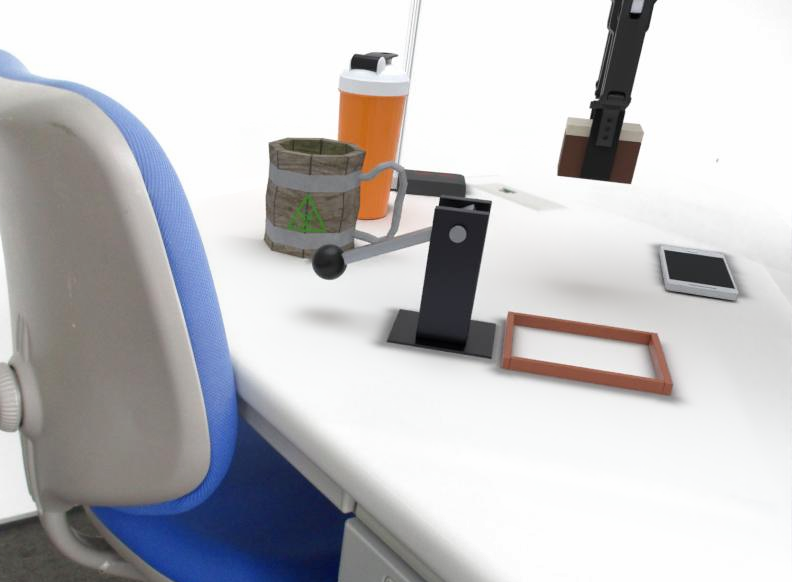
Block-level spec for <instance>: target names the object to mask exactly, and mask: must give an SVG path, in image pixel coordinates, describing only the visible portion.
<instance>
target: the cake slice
mask: <svg viewBox="0 0 792 582" xmlns="http://www.w3.org/2000/svg"><path fill="white" fill-rule="evenodd" d="M592 121H593V119H590V118H583V117H581V118H580V117H574V116H573V117H571V116H567V118H566V124H565V129H564V132H563V133H564V134H563V138H562V143H561V148H560V153H559V157H558V162H557V166H556V167H557V168H556V169H557V170H556V176H557V177H563V178H572V179H573V178H574V179H579V180H580V179H581V180H587V179H586V178H580V175H581V171H582V166H583V162H584V157H585V153H586V148H587V144H588V139H589V134H590V130H591V125H592ZM644 135H645V132H644V129H643V127H642V125H641V124H640V123H632V122H624V121H623V125H622V129H621V134H620V138H619V142H618V146H617V150H616V155H615V159H614V163H613V167H612V172H611V176H610V180H609V181H604V180H595V179H588V180H590V181H597V182H599V181H600V182H607V183H615V184H624V185H632V182H633V179H634V175H635V171H636V166H637V163H638V158H639V155H640V150H641V147H642V143H643V139H644Z"/></svg>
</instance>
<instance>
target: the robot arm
mask: <svg viewBox="0 0 792 582" xmlns="http://www.w3.org/2000/svg"><path fill="white" fill-rule="evenodd" d="M610 2H611V4H610V8H609V13H608V17H607V22H606V28H607V37H606V40H605V46H604V50H603V55H602V58H601V59H602V60H601V63H600V64H601V65H600V69H599V74H598V78H597V80H596V81H595V85H594V87H595V89H594V90H595V91H594V96H595V97H594V99H593V100H590V103H589V108H588V109H590V114H589V115H590V116H589V119H593V121H592V125H591V130H590V134H589V139H588V144H587V148H586V153H585V157H584V162H583V166H582V171H581V175H580V178H586V179H585V180H589V179H595V180H594V181H597V180H604V181H603V182H606V181H609V180H610V176H611V172H612V167H613V163H614V159H615V155H616V150H617V146H618V142H619V138H620V134H621V129H622V125H623V122H624V120H625V116H626V109H627V108H629V106H630V104H631V102H632V99H633V98H632V92H633V89H634V85H635V80H636V75H637V71H638V66H639V63H640V59H641V54H642V51H643V47H644V42H645V37H646V33H647V32H649V29H650V26H651V21H652V16H653V11H654V7H655V5H656V3H657V2H658V0H610ZM580 178H579V179H580Z"/></svg>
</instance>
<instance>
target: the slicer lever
mask: <svg viewBox="0 0 792 582" xmlns="http://www.w3.org/2000/svg"><path fill="white" fill-rule="evenodd" d="M460 209H468V210H476V208H475V205H474V204H473V205H469V206H466V207H463V208H460ZM431 230H432V225H431V226H426V227H424V228H421V229H417V230H413V231H410V232H406V233H403V234H400V235H397V236H396V235H395V236H394V237H392V238H389V239H385V240H382V241H378V242H375V243H368V244H365V245H361V246H357V247H354V249H350V250H347V251H343V250H342V249H341V248H340V247H338V246H336V245H332V244H328V245H324V246H321V247H320V248H319V249H317V250H316V252H315V253H314V255H313V258H311V266H312V270H313V272H314V273H315V275H316V276H317V277H319V278H320V279H322V280H325V281H333V280H337V279H338V278H340V277H342V276H343V275H344V273H345V272H346V270H347V267H348V265H350V264H353V263H356V262H360V261H363V260H367V259H371V258H374V257H378V256H381V255H386V254H388V253H393V252H396V251H399V250H403V249H408V248H410V247H415V246H418V245H421V244H424V243H430V237H431Z"/></svg>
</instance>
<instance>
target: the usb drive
mask: <svg viewBox="0 0 792 582" xmlns="http://www.w3.org/2000/svg"><path fill="white" fill-rule="evenodd" d="M405 173H406V178H407V183H408V185H407V189H406V193H405V194H410V195H418V196H419V195H420V196H428V197H429V196H432V197H440V196H441V195H448V196H457V197H465V198H466V193H467V183H466V178H465V177H466V176H464V175H463V174H461V173H451V172H442V171H440V172H439V171H429V170H428V171H427V170H417V169H408V168H407V169H406V168H405ZM399 186H400V182H399V172H397V171H394V172H393V178H392V184H391V190H395V191H396V193H398V189H399Z"/></svg>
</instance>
